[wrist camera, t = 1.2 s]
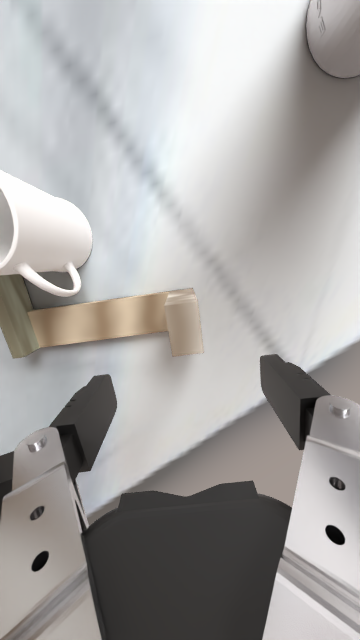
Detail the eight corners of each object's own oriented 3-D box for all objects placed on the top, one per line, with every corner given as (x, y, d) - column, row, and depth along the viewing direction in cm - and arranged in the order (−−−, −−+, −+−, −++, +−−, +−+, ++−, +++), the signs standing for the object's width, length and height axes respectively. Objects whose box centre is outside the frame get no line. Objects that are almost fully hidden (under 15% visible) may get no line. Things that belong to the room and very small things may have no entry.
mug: (121, 272, 27) (76, 282, 15) (69, 305, 28) (-9, 336, 16) (63, 182, 24) (-46, 110, 12) (8, 223, 25) (-138, 191, 14)
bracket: (177, 163, 23) (174, 104, 14) (197, 324, 28) (203, 352, 20) (-19, 195, 24) (-131, 159, 15) (35, 345, 29) (-26, 381, 21)
